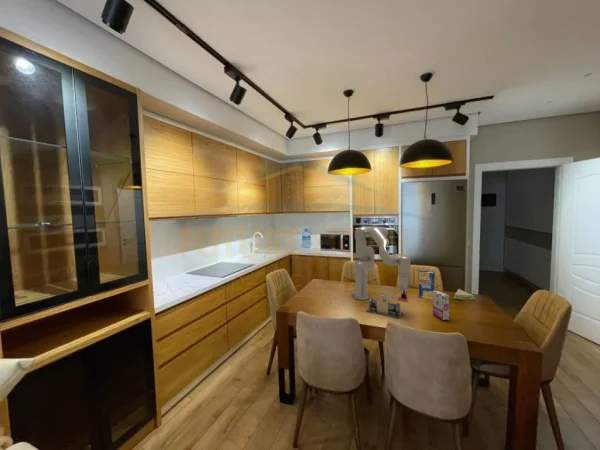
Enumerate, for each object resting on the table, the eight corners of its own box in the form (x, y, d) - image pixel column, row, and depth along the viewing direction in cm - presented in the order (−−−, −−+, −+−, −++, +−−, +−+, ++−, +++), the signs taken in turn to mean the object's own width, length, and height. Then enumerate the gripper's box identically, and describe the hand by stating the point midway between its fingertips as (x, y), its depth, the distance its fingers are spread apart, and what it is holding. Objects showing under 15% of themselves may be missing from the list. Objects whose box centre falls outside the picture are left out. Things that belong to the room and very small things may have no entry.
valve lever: (381, 297, 184) (381, 294, 184) (382, 296, 186) (382, 293, 186) (406, 302, 173) (406, 299, 173) (408, 301, 175) (408, 298, 175)
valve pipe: (365, 311, 187) (365, 297, 186) (371, 306, 196) (371, 293, 195) (398, 318, 173) (398, 303, 173) (403, 313, 182) (403, 298, 182)
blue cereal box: (433, 300, 207) (434, 273, 206) (418, 298, 213) (418, 271, 212) (434, 298, 213) (435, 271, 212) (420, 295, 219) (420, 270, 218)
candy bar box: (449, 320, 170) (450, 295, 169) (442, 320, 169) (442, 295, 168) (439, 313, 181) (439, 290, 180) (432, 313, 180) (432, 290, 180)
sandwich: (473, 296, 216) (473, 290, 216) (475, 303, 199) (475, 297, 199) (452, 293, 224) (452, 288, 224) (452, 300, 207) (452, 294, 207)
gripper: (401, 271, 186) (400, 296, 187) (395, 275, 174) (395, 302, 175) (412, 272, 182) (412, 298, 183) (407, 277, 170) (407, 304, 171)
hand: (403, 300), depth 179 cm, fingers closed
